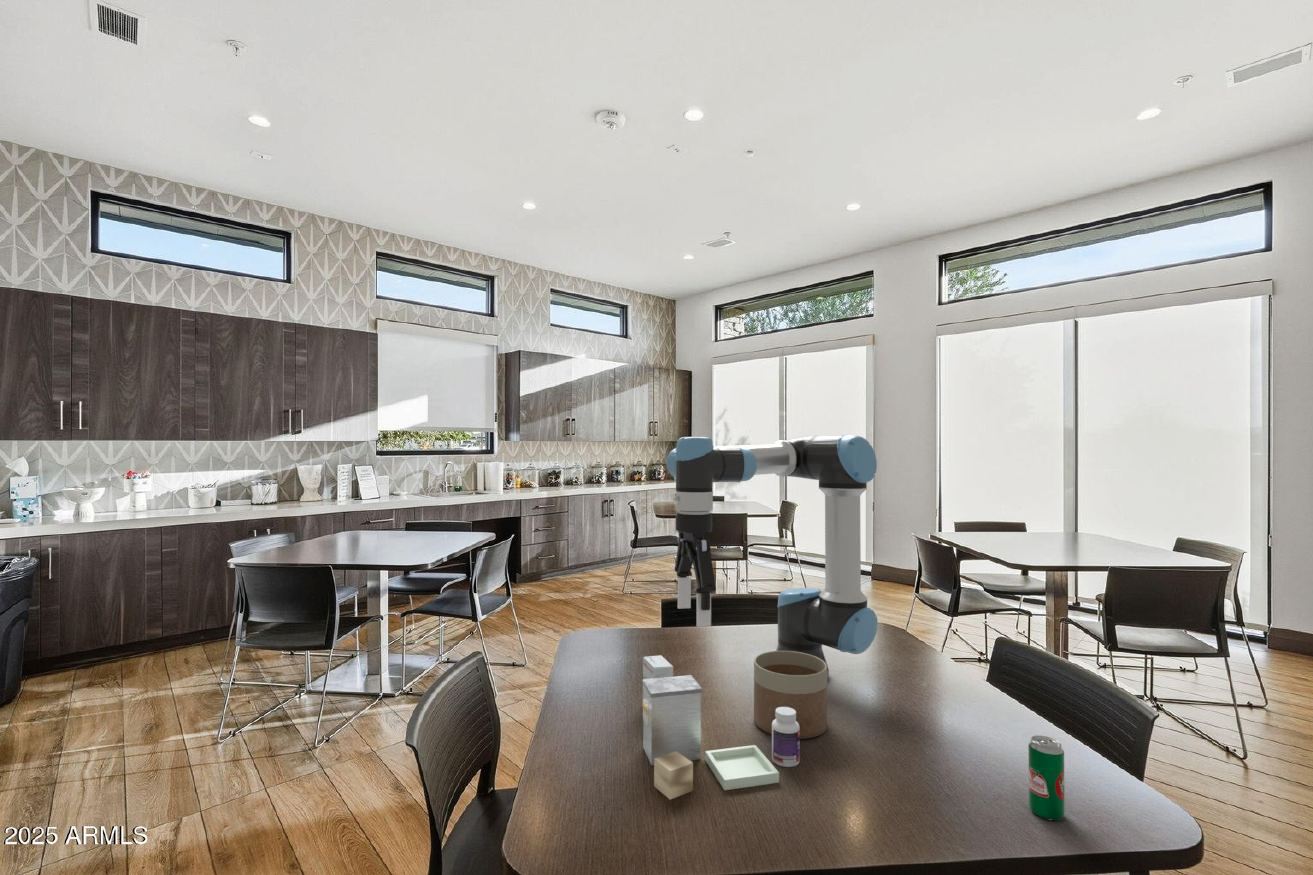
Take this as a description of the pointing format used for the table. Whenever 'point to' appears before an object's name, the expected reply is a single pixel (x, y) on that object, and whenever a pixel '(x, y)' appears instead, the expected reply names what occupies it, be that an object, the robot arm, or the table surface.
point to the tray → (741, 767)
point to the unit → (672, 717)
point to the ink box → (656, 668)
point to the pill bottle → (785, 738)
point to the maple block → (673, 775)
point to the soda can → (1046, 777)
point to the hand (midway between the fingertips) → (693, 616)
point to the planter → (791, 690)
